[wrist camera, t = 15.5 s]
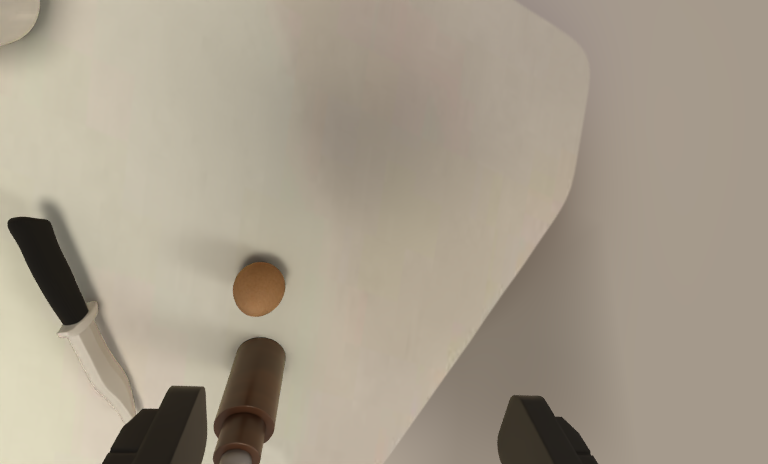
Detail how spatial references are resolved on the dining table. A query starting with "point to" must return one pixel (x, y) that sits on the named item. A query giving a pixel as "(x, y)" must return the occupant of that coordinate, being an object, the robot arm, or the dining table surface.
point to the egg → (258, 289)
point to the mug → (17, 19)
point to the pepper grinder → (249, 402)
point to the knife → (72, 311)
